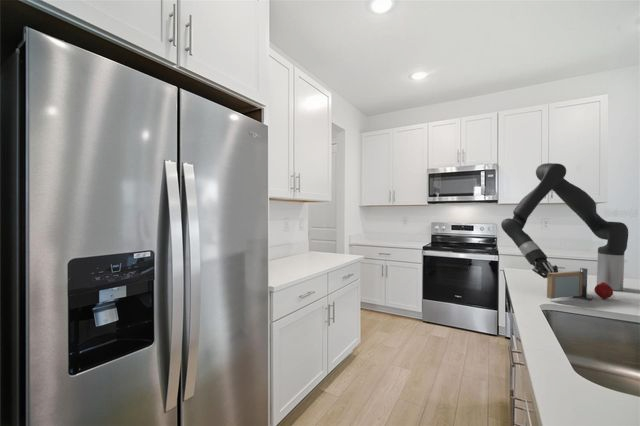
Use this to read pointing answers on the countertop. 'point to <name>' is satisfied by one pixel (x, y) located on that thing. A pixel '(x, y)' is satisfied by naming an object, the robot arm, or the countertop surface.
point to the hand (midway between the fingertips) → (558, 285)
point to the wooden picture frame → (564, 284)
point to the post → (584, 287)
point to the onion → (603, 290)
